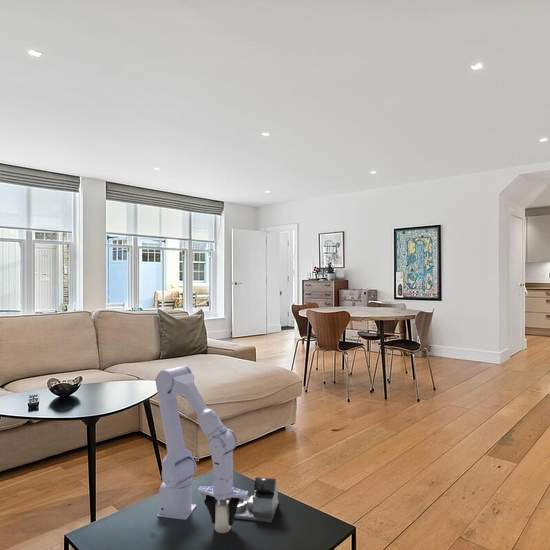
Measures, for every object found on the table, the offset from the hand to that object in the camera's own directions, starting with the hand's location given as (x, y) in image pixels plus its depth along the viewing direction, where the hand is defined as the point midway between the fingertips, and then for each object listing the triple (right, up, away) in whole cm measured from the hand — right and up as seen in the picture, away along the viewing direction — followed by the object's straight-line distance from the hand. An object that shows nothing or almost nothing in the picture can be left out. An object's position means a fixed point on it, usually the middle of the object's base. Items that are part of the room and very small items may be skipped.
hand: (223, 522), depth 122 cm
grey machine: (+6, -2, +10) cm, 12 cm away
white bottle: (0, -2, 0) cm, 2 cm away
